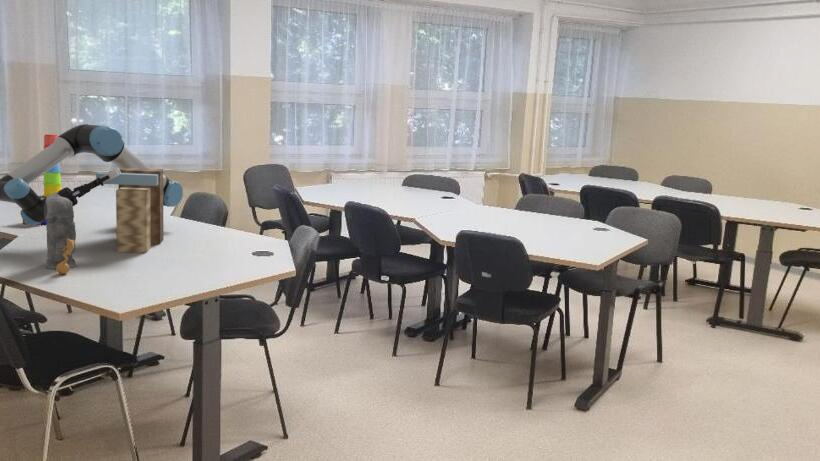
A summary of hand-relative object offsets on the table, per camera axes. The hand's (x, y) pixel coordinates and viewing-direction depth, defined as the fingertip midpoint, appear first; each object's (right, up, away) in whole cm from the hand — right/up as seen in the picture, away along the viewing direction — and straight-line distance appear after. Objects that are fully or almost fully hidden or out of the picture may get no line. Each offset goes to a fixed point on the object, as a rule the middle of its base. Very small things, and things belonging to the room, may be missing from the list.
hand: (118, 171), depth 277 cm
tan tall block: (+3, -30, +6) cm, 31 cm away
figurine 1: (-10, -35, -24) cm, 44 cm away
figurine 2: (-3, -37, -35) cm, 51 cm away
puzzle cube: (-56, -20, +49) cm, 77 cm away
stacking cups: (-89, -4, +128) cm, 156 cm away
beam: (+3, -5, +1) cm, 6 cm away
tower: (0, -27, +23) cm, 35 cm away
